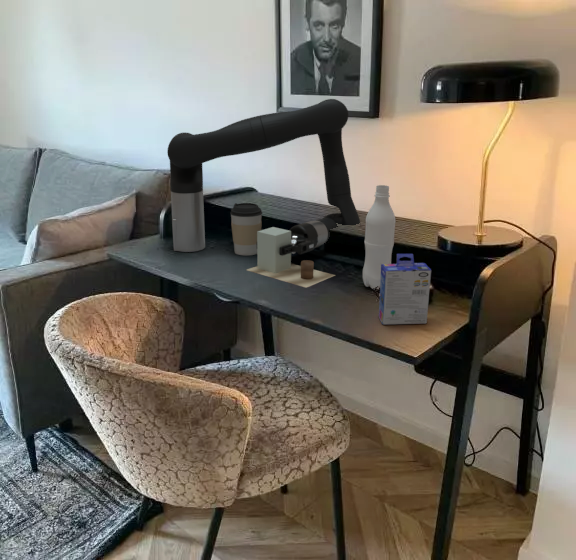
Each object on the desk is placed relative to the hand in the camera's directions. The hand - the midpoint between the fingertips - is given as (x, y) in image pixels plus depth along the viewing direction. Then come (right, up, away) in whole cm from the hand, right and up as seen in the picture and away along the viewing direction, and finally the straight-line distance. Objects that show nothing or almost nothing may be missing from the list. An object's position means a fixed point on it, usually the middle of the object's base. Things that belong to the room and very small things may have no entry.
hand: (268, 248), depth 156 cm
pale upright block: (+1, -5, +3) cm, 6 cm away
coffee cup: (-7, -1, +18) cm, 19 cm away
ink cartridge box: (+30, -17, -25) cm, 42 cm away
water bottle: (+27, -10, -5) cm, 29 cm away
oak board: (+5, -7, +1) cm, 9 cm away
